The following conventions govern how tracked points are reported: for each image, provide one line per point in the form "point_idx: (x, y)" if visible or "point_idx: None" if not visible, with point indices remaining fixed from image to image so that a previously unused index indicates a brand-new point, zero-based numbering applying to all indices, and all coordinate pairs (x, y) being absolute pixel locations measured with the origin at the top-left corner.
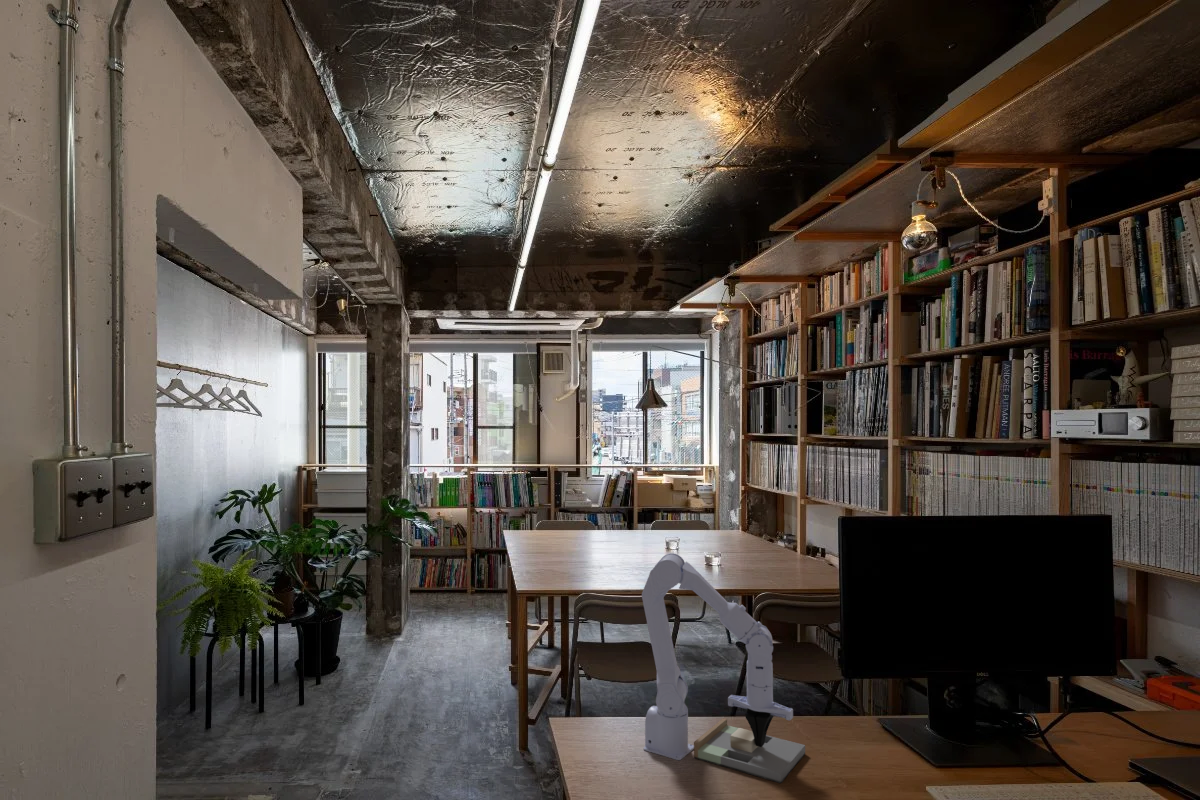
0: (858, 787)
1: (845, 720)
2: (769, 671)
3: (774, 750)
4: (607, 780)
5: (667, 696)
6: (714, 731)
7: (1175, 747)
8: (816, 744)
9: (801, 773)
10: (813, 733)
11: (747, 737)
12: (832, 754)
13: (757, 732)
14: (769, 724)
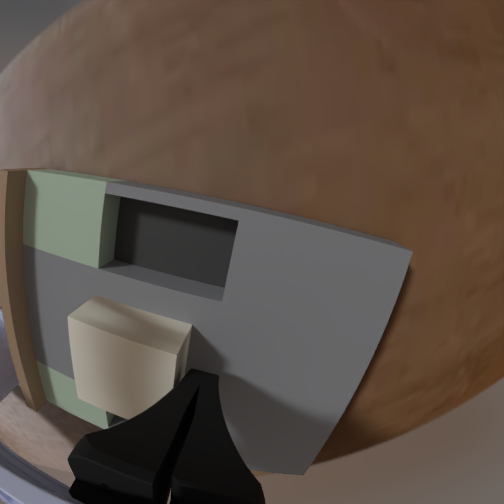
0: (487, 379)
1: None
2: None
3: (269, 362)
4: (22, 445)
5: None
6: (15, 302)
7: None
8: (427, 116)
9: (367, 386)
10: (395, 17)
11: (140, 409)
12: (478, 197)
13: (181, 448)
14: (233, 444)
